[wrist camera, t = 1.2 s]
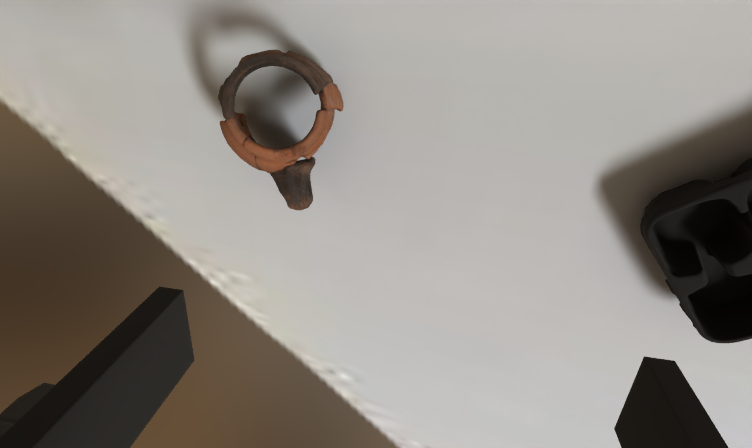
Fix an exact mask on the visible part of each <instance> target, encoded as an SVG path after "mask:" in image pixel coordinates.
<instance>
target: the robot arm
mask: <svg viewBox="0 0 752 448" xmlns="http://www.w3.org/2000/svg"><path fill="white" fill-rule="evenodd" d="M193 361H194V355H193V348H192V342H191V336H190V330H189V324H188V318H187V311H186V305H185V299H184V293H183V290H178V289H171V288H164V287H159V288H158V289H157V290H156V291H155V292H153V293H152V294H151V295H150V296H149V297H148V298H147V299H146V300H145V301H144V302H143V303H142V304H141V305H140V306H139V307H138V308H136V309H135V310H134V311H133V312H132V313H131V314H130V315H129V316H128V317H127V318H126V319H125V320H124V321H123V322H122V323H121V324H120V325H119V326H117V327H116V328H115V329H114V330H113V331H112V332H111V333H110V334H109V335H108V336H107V337H106V338H105V339H104V340H103V341H102V342H101V343H100V344H99V345H97V346H96V347H95V348H94V349H93V350H92V351H91V352H90V353H89V354H88V355H87V356H86V357H85V358H84V359H83V360H82V361H80V362H79V363H78V364H77V365H76V366H75V367H74V368H73V369H72V370H71V371H70V372H69V373H68V374H67V375H66V376H65V377H64V378H63V379H62V380H60V381H59V382H58V383H57V384H56V385H52V384H47V383H43V384H41V385H40V386H38V387H36V388H34V389H33V390H31V391H29V392H27V393H26V394H24V395H22V396H21V397H19V398H18V399H16V400H15V401H14V402H13V403H12V404H11V405H10V406H9V407H8V408H6V409H5V410H4V411H3V412H2V413H1V414H0V448H130V447H131V445H132V444H133V443H134V441H135V440H136V439H137V437H138V436H139V435H140V433H141V432H142V430H143V429H144V428H145V426H146V425H147V424H148V422H149V421H150V420H151V418H152V417H153V415H154V414H155V413H156V411H157V410H158V409H159V407H160V406H161V405H162V403H163V402H164V401H165V399H166V398H167V396H168V395H169V393H171V391H172V390H173V388H174V387H175V385H176V384H177V383H178V382H179V380H180V379H181V378H182V376H183V375H184V373H185V372H186V371H187V370H188V368H189V367H190V365H191V364H192V363H193ZM614 429H615V432H616V434H617V437H618V440H619V442H620V445H621V447H622V448H728V446H727V445H726V443H725V441H724V440H723V438H722V437H721V435H720V433H719V432H718V430H717V428H716V427H715V425H714V424H713V422H712V420H711V419H710V417H709V416H708V414H707V412H706V411H705V409H704V408H703V406H702V404H701V403H700V401H699V399H698V398H697V396H696V395H695V393H694V391H693V390H692V388H691V387H690V385H689V383H688V382H687V380H686V378H685V377H684V375H683V374H682V372H681V370H680V369H679V367H678V366H677V364H676V362H675V361H671V360H664V359H657V358H650V357H644V358H643V361H642V363H641V365H640V368H639V370H638V373H637V375H636V378H635V380H634V382H633V385H632V387H631V390H630V392H629V394H628V397H627V399H626V402H625V404H624V407H623V409H622V411H621V414H620V416H619V419H618V421H617V423H616V426H615V428H614Z"/></svg>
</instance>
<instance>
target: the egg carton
mask: <svg viewBox="0 0 752 448" xmlns="http://www.w3.org/2000/svg"><path fill="white" fill-rule="evenodd" d="M734 175H735V176H734V177H733V178H725V179H722V180H720V181H717V182H715V183H712V182H709V181H705V180H695V181H692V182H689V183H687V184H685V185H682V186H680V187H677V188H675V189H672V190H669V191H666V192H664V193H661V194H660V195H659V196H658V197H656V198H654V199H653V200H652V201H651V203H650V204H649V205H648V206H647V207H646V208H645V214H644V216H643V218H642V220H641V224H640V229H641V233H642V236H643V238H644V240H645V242H646V243H647V245H648V247H649V248H650V250H651V252H652V254H653V255H654V257H655V259H656V260H657V262H658V264H659V265H660V267H661V269H662V270H663V272H664V274H665V276H666V278H667V279H666V280H665V281H666V283H667V284H668V286H669V288H670V290H671V292H672V293H673V294H675V295H676V296H677V298H678V299H679V301H680V304H679V305H680V306H681V308H682V310H683V311H684V312H685V314H686V315H687V316H688V317H689V319H690V320H691V321H692V323H693V326H694V327H695V328H696V329H697V331H698V332H699V334H700V335H701V336H702V337H704V338H705V339H707V340H709V341H711V342H715V343H734V342H739V341H744V340H748V339H752V158H751V159H748V160H747V161H745V162H744V163H742V164H741V166H740V167H739V168H738V170H737V171H736V172H734Z"/></svg>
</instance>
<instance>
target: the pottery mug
mask: <svg viewBox="0 0 752 448" xmlns="http://www.w3.org/2000/svg"><path fill="white" fill-rule="evenodd" d="M267 66H279V67H284V68H287V69H289V70H292V71H294V72H295V73H297V74H299V75H300V76H301V77H302V78H303V79H304V80H305V81H306V82H307V83H308V84H309V86H310V88H311V89H312V91H313V93H314V94H315V95H316V94H319V97H320V101H321V110H318V111H317V113H316V119H315V122H314V125H313V127H312V129H311V131H310V132H309V133H308V135H307V136H306V137H305V138H304V139H303V140H301V141H300V142H299V143H297V144H295V145H293V146H291V147H287V148H269V147H265V146H263V145H260V144H258V143H257V142H256V141H255V140H254V139H253V138H252V135H251V133H250V131H249V128H248V125H247V121H246V116H245V114H243V113H236V112H235V109H234V101H235V96H236V92H237V89H238V87H239V85H240V83H241V82H242V80H243V79H244V78H245V77H246V76H247V75H248V74H250V73H251V72H253V71H255V70H257V69H259V68H262V67H267ZM218 99H219V101H220V104H221V106H222V111H223V116H224V118H225V119H226V120H225V121H220V126H221V130H222V133H223V135H224V137H225V139H226V141H227V143H228V145H229V146H230V147H231V148H232V150H233V151H234V152H235V153H236V154H237V155H238V156H239V157H240V158H241V159H242V160H244V161H245V162H247V163H248V164H249V165H251V166H252V167H254V168H256V169H258V170H261V171H262V170H263V171H266V172H268V173H270V174H271V176H272V177H273V179H274V181H275V182H276V185H277V187H278V189H279V191H280V193H281V194H282V196H283V197H284V198H285V200H286V202H287V205H288V207H289V208H291V209H294V210H303V209H306V208H308V207H309V206H310V204H311V203H312V201H313V195H312V189H311V182H310V172H311V169H312V168H313V167H314V165H315V158H313V157H312V156H313V155H314V154H315V152H316V151H317V150H318V148H319V147H320V146H321V145H322V144H323V142H324V140H325V138H326V136H327V134H328V132H329V131H330V129H331V126H332V123H333V119H334V109H337V110H339V111H342V110H343V100H342V97H341V93H340V91H339V89H338V87H337V85H335V84H333V80H332V78H331V76H330V75H328V74H327V73H326V72H325V71H324V70H323V69H322V68H320V67H319V66H318V65H316V64H315V63H314V62H312V61H311V60H309V59H307V58H306V57H304V56H301V55H299V54H296V53H294V52H291V51H288V52H286V53H283V52H281V51H280V50H268V51H263V52H259V53H255V54H251V55H247V56H245V57H243V58H241V61H240V62H239V65H238V67H237V68H235V69H234V70H233V72H232V73H231V75H230V76H229V77H228V78H227V79H226V80H225V82H224V84H223V85H222V86H221V87H220V90H219V94H218ZM300 157H305V158H306V159H304V160H299V161H297V160H298V159H299V158H300Z"/></svg>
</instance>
